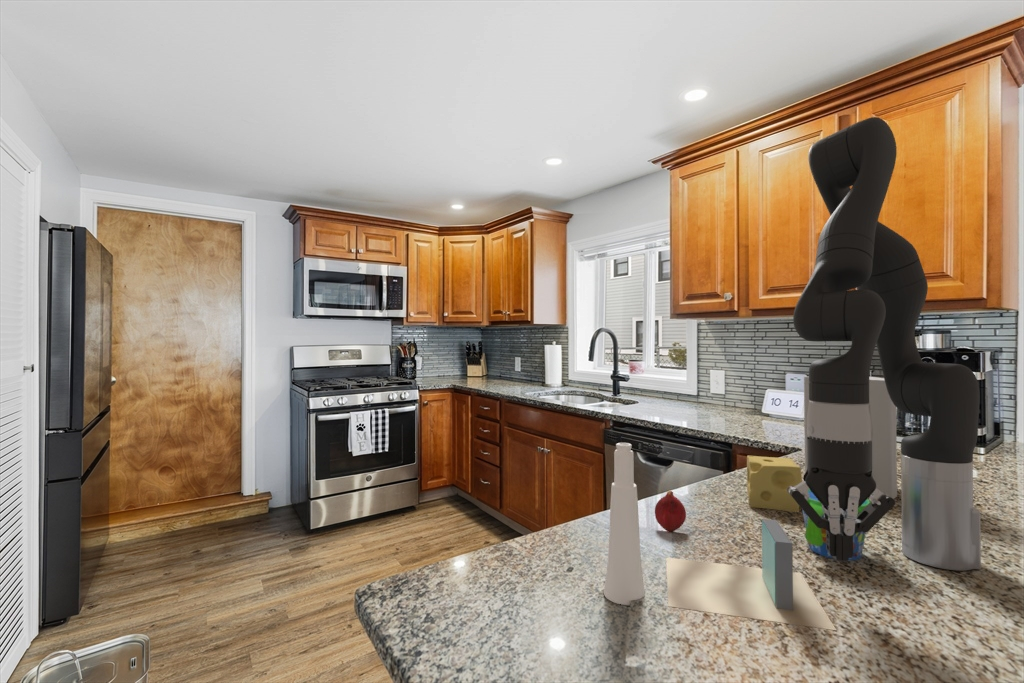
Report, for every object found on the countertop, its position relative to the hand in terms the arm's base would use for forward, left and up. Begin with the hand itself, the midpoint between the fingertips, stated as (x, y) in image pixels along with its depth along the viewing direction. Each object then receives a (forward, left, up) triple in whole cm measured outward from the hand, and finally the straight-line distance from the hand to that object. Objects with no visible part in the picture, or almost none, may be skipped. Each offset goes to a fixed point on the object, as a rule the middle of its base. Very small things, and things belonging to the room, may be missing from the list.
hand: (839, 559), depth 68 cm
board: (+13, 0, -7) cm, 14 cm away
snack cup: (-5, -19, -7) cm, 21 cm away
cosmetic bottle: (+29, +5, -7) cm, 30 cm away
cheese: (-1, -47, -7) cm, 48 cm away
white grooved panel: (-25, -69, -7) cm, 74 cm away
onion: (+22, -22, -7) cm, 32 cm away
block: (+8, 0, -6) cm, 10 cm away
